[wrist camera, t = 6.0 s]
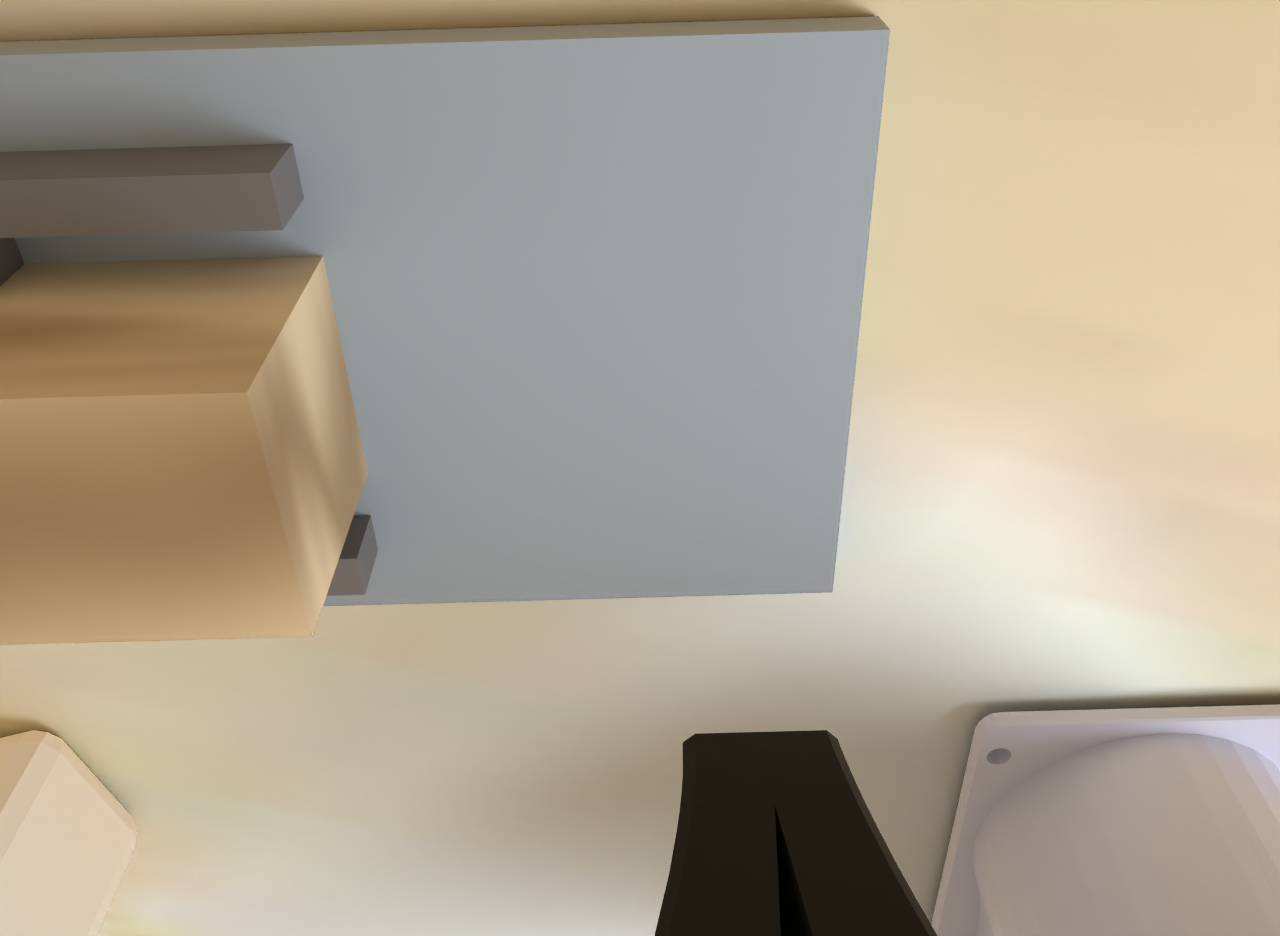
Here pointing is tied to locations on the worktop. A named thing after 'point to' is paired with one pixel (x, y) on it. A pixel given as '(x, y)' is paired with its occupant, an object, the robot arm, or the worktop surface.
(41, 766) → the pepper shaker
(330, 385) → the maple block
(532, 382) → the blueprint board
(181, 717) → the worktop surface
